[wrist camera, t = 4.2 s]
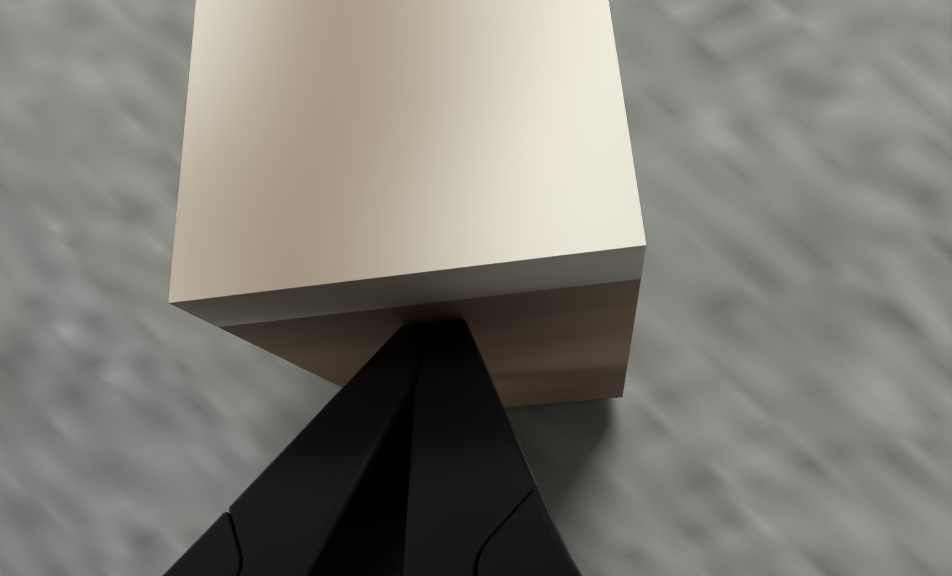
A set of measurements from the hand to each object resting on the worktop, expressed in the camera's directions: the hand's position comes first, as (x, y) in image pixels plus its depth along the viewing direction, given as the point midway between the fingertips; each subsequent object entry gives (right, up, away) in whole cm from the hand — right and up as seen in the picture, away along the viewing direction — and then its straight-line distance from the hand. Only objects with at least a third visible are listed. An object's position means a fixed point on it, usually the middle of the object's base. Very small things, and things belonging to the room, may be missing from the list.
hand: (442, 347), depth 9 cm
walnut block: (+1, 0, +7) cm, 7 cm away
